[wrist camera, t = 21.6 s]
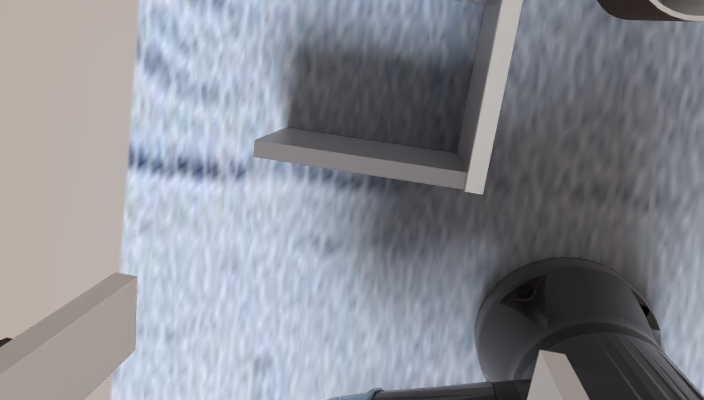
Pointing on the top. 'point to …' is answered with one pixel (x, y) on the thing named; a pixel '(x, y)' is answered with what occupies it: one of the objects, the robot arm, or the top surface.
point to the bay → (416, 162)
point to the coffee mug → (655, 9)
